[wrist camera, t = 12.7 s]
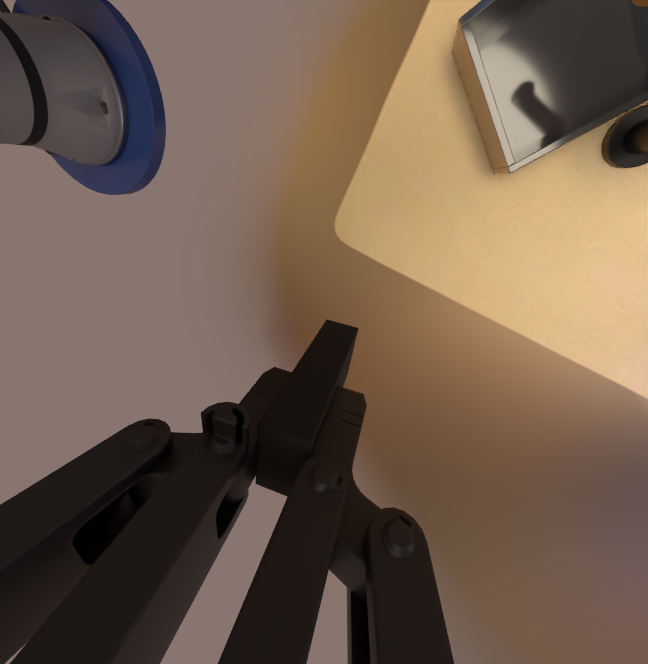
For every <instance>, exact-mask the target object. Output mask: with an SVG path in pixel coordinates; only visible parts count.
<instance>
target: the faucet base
mask: <svg viewBox="0 0 648 664" xmlns="http://www.w3.org/2000/svg"><path fill="white" fill-rule="evenodd" d="M602 154H603V157H604V159H605V161H606V162H607V163H608V164H609V165H611V166H614V167H617V168H631V167H637V166H640V165H643V164H646V163H648V105H647V106H643V107H640V108H637V109H635V110H632V111H630V112H629V113H627V114H625V115H624V116H622V117H621V118H620V119H619V120H618V121H616V122H615V123H614V125H613V126H612V127H611V128H610V130H609V131H608V133H607V134H606V136H605V139H604V141H603V145H602Z"/></svg>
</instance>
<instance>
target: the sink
mask: <svg viewBox="0 0 648 664" xmlns="http://www.w3.org/2000/svg"><path fill="white" fill-rule="evenodd" d="M452 55H453V58H454V60H455V63H456V66H457V69H458V72H459V75H460V78H461V81H462V83H463V86H464V89H465V92H466V95H467V98H468V101H469V104H470V106H471V109H472V112H473V115H474V118H475V121H476V124H477V127H478V129H479V132H480V135H481V138H482V141H483V144H484V147H485V150H486V152H487V155H488V158H489V161H490V164H491V167H492V170H493V173H494V174H507V173H512V172H514V171H516V170H518V169H520V168H521V167H523V166H525V165H527V164H529V163H531V162H533V161H534V160H536V159H538V158H540V157H542V156H544V155H546V154H548V153H549V152H551V151H553V150H555V149H557V148H559V147H561V146H562V145H564V144H566V143H568V142H570V141H572V140H574V139H576V138H577V137H579V136H581V135H583V134H585V133H587V132H589V131H590V130H592V129H594V128H596V127H598V126H600V125H602V124H604V123H605V122H607V121H609V120H611V119H613V118H615V117H617V116H619V115H620V114H622V113H624V112H626V111H628V110H630V109H632V108H633V107H635V106H637V105H639V104H641V103H643V102H645V101H647V100H648V6H646V7H639V6H637V5H635V4H634V3H633V2H632V0H481V1H480V2H479V3H478V4H477V5H475V6H474V7H473V8H472V9H470V10H469V11H468V12H467V13H466V14H464V15H463V16H462V17H461V18H459V21H458V25H457V30H456V34H455V39H454V43H453V48H452Z"/></svg>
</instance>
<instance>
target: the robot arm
mask: <svg viewBox="0 0 648 664" xmlns="http://www.w3.org/2000/svg"><path fill="white" fill-rule="evenodd" d="M0 12H1V13H0V143H3V144H16V145H28V146H35V147H38V148H40V149H43V150H45V151H46V152H47V153H48V154H50V155H53V156H56V157H58V156H57V155H56V154H59V155H62V156H64V157H66V158H68V159H70V160H72V161H75V162H78V163H82V164H86V165H96V166H104V165H109V164H111V163H113V162H115V161H116V160H117V159H118V158H119V157H120V156H121V154H122V153H123V151H124V149H125V146H126V143H127V139H128V133H129V116H128V108H127V102H126V98H125V94H124V91H123V87H122V84H121V82H120V79H119V77H118V74H117V72H116V70H115V68H114V66H113V64H112V62H111V61H110V59H109V57H108V56H107V54H106V53H105V51H104V50H103V49H102V47H101V46H100V45H99V44H98V42H97V41H96V40H95V39H94V38H93V37H92V36H91V35H90V34H89V33H87V32H86V31H85V30H84V29H82V28H80V27H79V26H77V25H75V24H73V23H71V22H68V21H66V20H64V19H62V18H59V17H56V16H51V15H47V14H33V15H31V16H30V15H25V14H18V13H11V12H10V10H9V9H8V7H7V6H6V4H5V3H4V1H3V0H0ZM54 153H56V154H54ZM357 332H358V328H356V327H352V326H349V325H345V324H341V323H338V322H334V321H330V320H326V321H325V323H324V325H323V326H322V328H321V329H320V330H319V332H318V334H317V335H316V337H315V338H314V340H313V341H312V343H311V344H310V346H309V348H308V349H307V350H306V352H305V353H304V355H303V356H302V358H301V359H300V361H299V362H298V364H297V366H296V367H295V369H294V370H293V372H289V371H286V370H282V369H279V368H276V367H274V368H272V369H270V370H268V371H266V372H265V373H263V374H262V375H261V377H260V378H259V379H258V380H257V382H256V384H254V386H253V387H252V388H251V389H250V391H249V392H248V393H247V394H246V396H245V397H244V398H243V399H242V400H241V402H240V403H239V404H236V403H231V402H223V403H217V404H214V405H212V406H209V407H207V408H206V409H205V410H204V411H203V412H201V418H202V427H203V433H175V432H171V430H170V427H169V426H168V424H166V422H164V421H161V420H159V419H146V420H141V421H137V422H135V423H133V424H131V425H129V426H127V427H125V428H124V429H122V430H120V431H119V432H117V433H116V434H114V435H112V436H111V437H109V438H108V439H106V440H104V441H103V442H101V443H100V444H98V445H96V446H95V447H93V448H91V449H90V450H88V451H87V452H85V453H83V454H82V455H80V456H79V457H77V458H75V459H74V460H72V461H71V462H69V463H67V464H66V465H64V466H62V467H61V468H59V469H58V470H56V471H54V472H53V473H51V474H49V475H48V476H46V477H45V478H43V479H42V480H40V481H38V482H37V483H35V484H33V485H32V486H30V487H29V488H27V489H25V490H24V491H22V492H20V493H19V494H17V495H16V496H14V497H12V498H11V499H9V500H7V501H6V502H4V503H3V504H1V505H0V664H5V663H6V662H7V661H8V660H9V659H10V658H11V657H12V656H13V655H14V654H15V653H16V652H17V651H18V650H19V649H20V648H22V647H23V646H24V645H25V644H26V643H27V642H28V643H27V644H26V645H25V646H24V647H23V649H22V650H21V651H20V652H19V653H18V655H17V656H16V657H15V658H14V659H13V661H12V662H11V663H10V664H160V662H161V660H162V659H163V657H164V655H165V653H166V651H167V649H168V647H169V645H170V644H171V642H172V640H173V638H174V636H175V634H176V632H177V630H178V629H179V627H180V625H181V623H182V621H183V619H184V617H185V615H186V614H187V612H188V610H189V608H190V606H191V604H192V602H193V601H194V599H195V597H196V595H197V593H198V591H199V589H200V587H201V586H202V584H203V582H204V580H205V578H206V576H207V574H208V572H209V570H210V569H211V567H212V565H213V563H214V561H215V559H216V557H217V556H218V554H219V552H220V550H221V548H222V546H223V544H224V542H225V540H226V539H227V537H228V535H229V533H230V531H231V529H232V527H233V526H234V523H235V522H236V520H237V518H238V516H239V514H240V512H241V510H242V509H243V507H244V505H245V503H246V500H247V497H248V488H249V486H250V485H251V483H252V481H253V479H254V477H255V476H256V484H258V485H260V486H263V487H265V488H268V489H270V490H273V491H275V492H278V493H280V494H283V495H285V496H288V497H287V500H286V502H285V505H284V507H283V509H282V512H281V514H280V517H279V519H278V521H277V524H276V526H275V529H274V531H273V533H272V536H271V538H270V540H269V543H268V545H267V548H266V550H265V553H264V555H263V557H262V559H261V562H260V564H259V567H258V569H257V571H256V574H255V576H254V579H253V581H252V583H251V586H250V588H249V590H248V593H247V595H246V598H245V600H244V602H243V605H242V607H241V610H240V612H239V614H238V617H237V619H236V621H235V624H234V627H233V629H232V631H231V633H230V636H229V638H228V641H227V643H226V645H225V648H224V650H223V653H222V655H221V657H220V660H219V662H218V664H306V663H307V659H308V654H309V650H310V646H311V642H312V638H313V633H314V629H315V625H316V621H317V616H318V612H319V608H320V604H321V600H322V595H323V591H324V587H325V583H326V579H327V575H328V570H330V571H331V572H332V573H333V574H334V575H335V576H336V577H337V578H338V579H339V580H340V581H341V582H343V584H344V585H345V586H346V587H347V630H348V631H347V635H348V636H347V639H348V664H454V661H453V656H452V652H451V647H450V643H449V638H448V634H447V630H446V625H445V621H444V616H443V612H442V607H441V603H440V598H439V594H438V589H437V585H436V580H435V576H434V571H433V567H432V562H431V558H430V553H429V549H428V544H427V541H426V538H425V535H424V533H423V530H422V529H421V527H420V526H419V525H418V523H417V522H416V521H415V519H414V518H412V517H411V516H410V515H409V514H407V513H406V512H405V511H402V510H399V509H396V508H383V509H380V508H379V507H378V506H376V505H375V504H374V503H373V502H371V501H370V500H369V499H367V498H366V497H365V496H364V495H363V494H362V493H361V492H360V490H359V489H358V487H357V486H356V484H355V481H354V479H353V474H352V466H353V460H354V457H355V452H356V448H357V444H358V440H359V436H360V431H361V426H362V423H363V418H364V415H365V410H366V406H367V405H366V401H365V398H364V394H362V393H359V392H355V391H352V390H349V389H346V388H343V385H344V382H345V380H346V377H347V374H348V370H349V365H350V361H351V357H352V353H353V349H354V344H355V340H356V336H357Z"/></svg>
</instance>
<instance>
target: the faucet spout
mask: <svg viewBox="0 0 648 664" xmlns="http://www.w3.org/2000/svg"><path fill="white" fill-rule="evenodd" d="M632 2H633V3H634V4H635V5H637V6H639V7H646V6H648V0H632Z"/></svg>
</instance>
